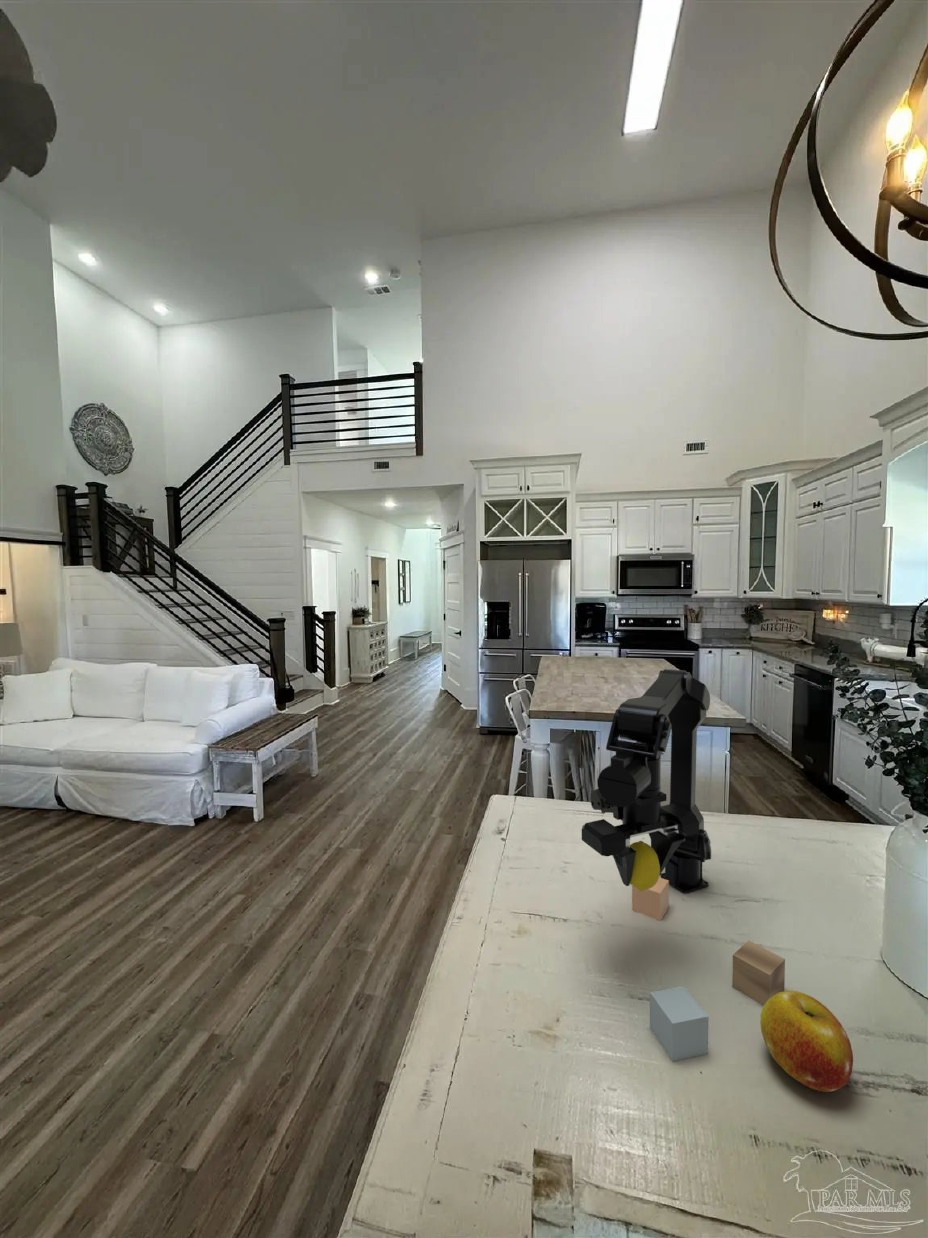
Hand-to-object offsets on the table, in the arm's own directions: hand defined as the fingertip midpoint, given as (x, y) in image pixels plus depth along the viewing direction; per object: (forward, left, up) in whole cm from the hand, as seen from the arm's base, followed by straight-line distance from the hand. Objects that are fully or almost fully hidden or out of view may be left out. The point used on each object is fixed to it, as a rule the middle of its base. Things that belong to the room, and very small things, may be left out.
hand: (641, 880), depth 81 cm
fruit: (-5, +23, -13) cm, 27 cm away
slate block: (+6, +14, -13) cm, 20 cm away
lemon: (0, 0, -2) cm, 2 cm away
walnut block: (-11, +12, -13) cm, 20 cm away
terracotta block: (-10, -9, -13) cm, 18 cm away
